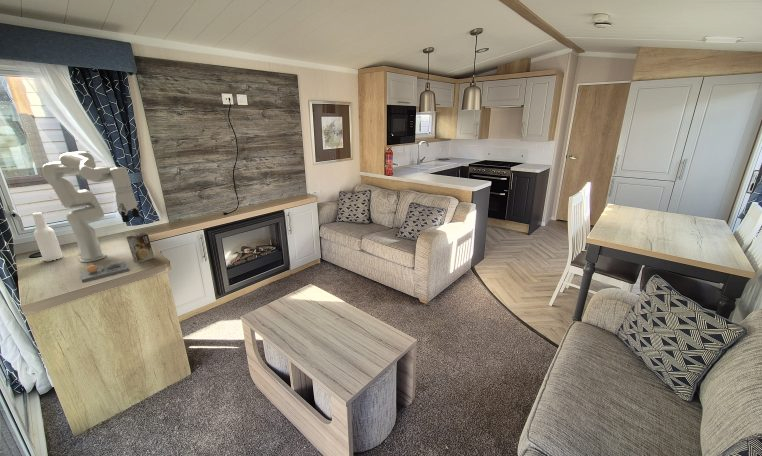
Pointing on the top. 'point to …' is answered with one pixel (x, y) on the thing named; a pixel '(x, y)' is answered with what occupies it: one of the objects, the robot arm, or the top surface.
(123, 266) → the deck
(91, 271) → the ball
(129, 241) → the coffee box
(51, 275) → the top surface
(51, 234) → the alcohol
